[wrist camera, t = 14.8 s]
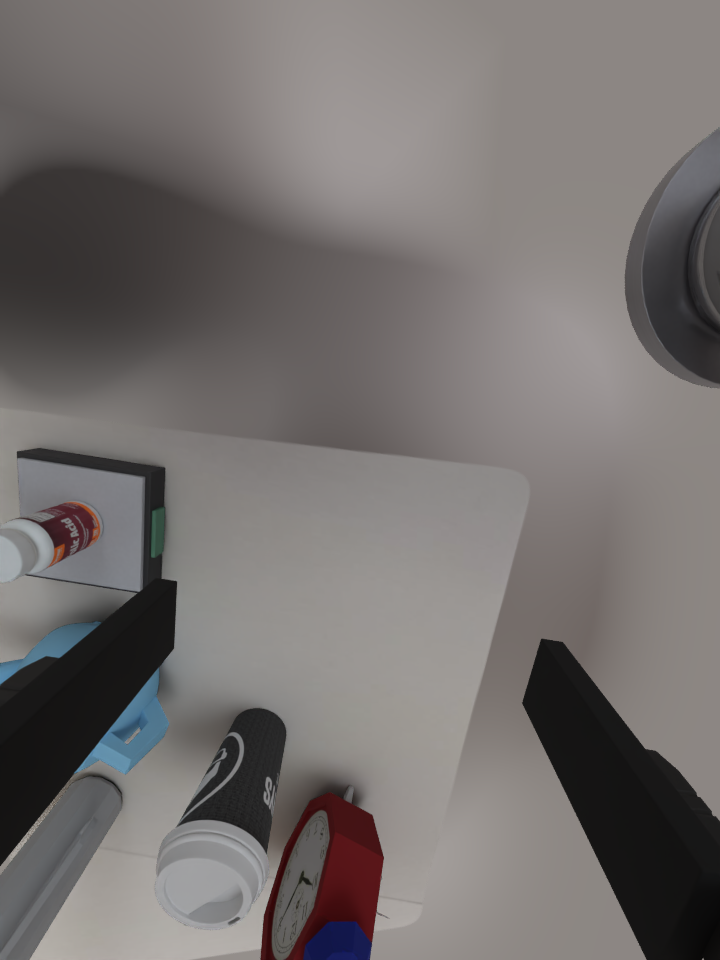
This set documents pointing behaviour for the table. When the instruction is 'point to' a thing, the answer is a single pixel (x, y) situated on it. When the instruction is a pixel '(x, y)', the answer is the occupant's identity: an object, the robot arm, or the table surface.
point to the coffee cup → (225, 829)
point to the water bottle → (53, 864)
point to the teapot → (137, 714)
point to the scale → (121, 505)
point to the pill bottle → (46, 538)
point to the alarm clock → (326, 885)
